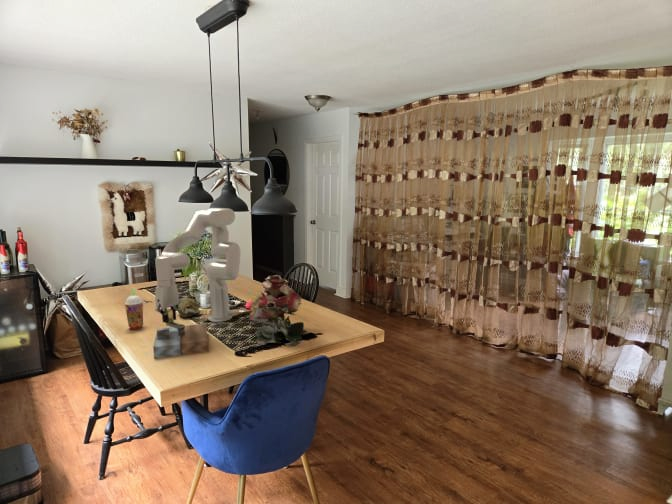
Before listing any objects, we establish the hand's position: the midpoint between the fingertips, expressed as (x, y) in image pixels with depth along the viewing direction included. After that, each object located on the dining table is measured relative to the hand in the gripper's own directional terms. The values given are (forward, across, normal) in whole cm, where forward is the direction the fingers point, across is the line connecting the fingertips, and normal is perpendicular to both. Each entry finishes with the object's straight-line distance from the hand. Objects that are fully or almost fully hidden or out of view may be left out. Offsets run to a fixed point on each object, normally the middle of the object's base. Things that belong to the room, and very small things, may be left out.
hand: (169, 320), depth 194 cm
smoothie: (+11, -6, -32) cm, 34 cm away
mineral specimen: (+11, -33, -22) cm, 41 cm away
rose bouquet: (+11, -28, +40) cm, 50 cm away
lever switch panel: (+10, +1, +8) cm, 13 cm away
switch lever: (+2, 0, +4) cm, 4 cm away
